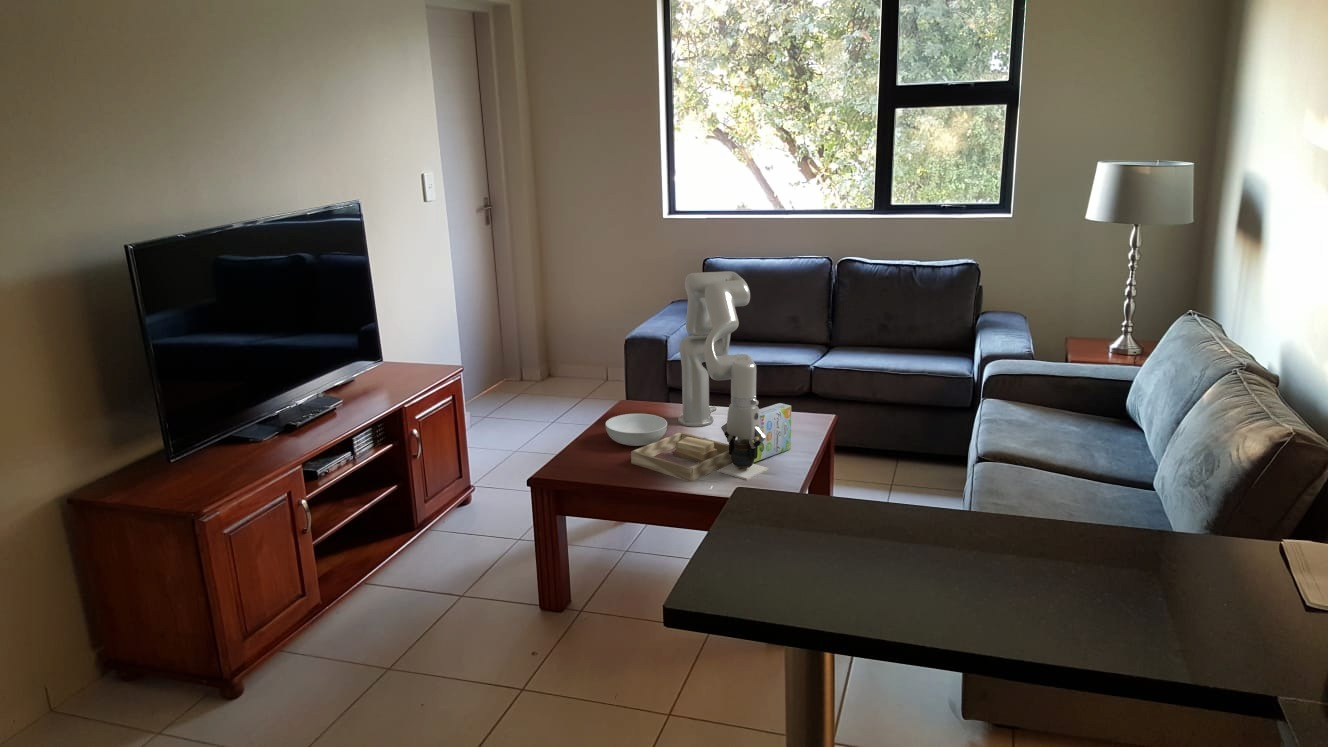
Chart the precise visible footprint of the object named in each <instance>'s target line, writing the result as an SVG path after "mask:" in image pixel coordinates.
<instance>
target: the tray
mask: <svg viewBox="0 0 1328 747" xmlns="http://www.w3.org/2000/svg"><path fill="white" fill-rule="evenodd" d="M686 437H692V438H697V439H702V440H707V441H711V442H714V448H715V449H717V456H714V457H712V458H710V459H707V460H705V461H703V462H701V463H697V464H694V465H692V466H687V465H684V464H680V463H677V462H674V461H671V460H670V461H669V460H667V459H663V458H661V457H657V455H660V454H662V453H663V454H664V452H668V451H670V450H673V449H676V446H677V445H678V442H679V441H681V440H682V439H684V438H686ZM630 456H631V457H630V458H631V459H630V460H631V461H630V462H631V463H630V464H632V465H634V466H635V465H636V466H638V467H642V468H645V469H648V470H651V471H654V472H657V473H661V474H664V475H668V476H671V477H674V478H676V479H680V480H684V481H687V482H690V483H691V482H693V481H695V480H698V479H699V478H701V477H702V478H703V477H704V476H706V475H708V474H710V473H714V471H718V470H719V469H721V468H723V467H725V466H727V465H730V464H732V463H733V461H732V460H731V455H730V454H729V443H724V442H721V441H716V440H712V439H709V438H705V437H701V436H698V435H695V434H691V433H686V432H683V431H680V432H677V433H674V434H672V435H670V436H667V437H664V438H661V439H660V440H658V441H656V442H654V443H651V444H648V445H643V446H641V447H639V448H636V449H634V450H632V451H630Z"/></svg>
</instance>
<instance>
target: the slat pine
mask: <svg viewBox="0 0 1328 747" xmlns="http://www.w3.org/2000/svg"><path fill="white" fill-rule="evenodd" d="M678 448H682V449H687V450H692V451H697V452H702V453H705V452H707V451H709V450H710V449H712V448H714V442H711V441H707V440H702V439H697V438H692V437H686V438H684V439H682V440H681V441H679V442H678Z"/></svg>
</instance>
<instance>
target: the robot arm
mask: <svg viewBox="0 0 1328 747" xmlns="http://www.w3.org/2000/svg"><path fill="white" fill-rule="evenodd" d="M684 290H685V291H686V296H687V306H686V307H687V309H686V318H685V330H686V333H687V334H688V335H689V336H686V337H684V338H682V339H681V340H680V342H679V344H678V351H679V356H680V357H679V358H680V362H681V364H680V365H681V384H682V388H681V390H682V392H681V393H682V399H681V400H682V415H680V416H679V417H678V421H677V422H678V423H679V424H680V425H682V426H685V427H706V426H708V425H711V424H713V423H714V417H713V416H712V415H711V413H714V412H716V411H717V407H716V406H715V405H713V406H710V380H709V379H710V378H711V379H712V380H714V381H728V380H730V404H729V406H728V410H727V418H726V423H724V424H723V425H722V426H721V427H720V428H721V430H722V432H723V434H724V435H723V436H725V439H726V442H728V445H729V454H730V455H731V454H732V451H733V448H734V439H733V438H735V440H737V439H736V438H737V437H740V438H744V439H748V440H749V443H750V446H751V448H750V449H749V460H751V461H752V460H754V459H756V458H757V455H758V446H759V445H760V444H761V443H762V442H763V441H764V440H765V439H766V436H765V435H764V434H763V433H762V431H761V420H760V412H759V409H760V408H759V406H758V405H759V403H760V402H759V400H757V364H756V363H755V362H754V360H753V359H752V358H751V356H750V355H749V354H745V353H740V354H739V353H737V354H729V350H730V343H731V334H732V333H734V332H735V331H737V329H738V327H739V324H740V322H739V318H738V315H737V310H736V308H737V307H745V306H747V305H748V304H749V303H750V300H751V291H750V287H749V286H748V283H747V282H746V281H745V279H744V278H743V277H741V276H740V275H739V274H738V273H737V272H736V271H728V270H727V271H726V270H725V271H708V272H707V271H705V272H692V273H689V274H687V275H686V277H685V281H684ZM703 363H705V364H706V368H705V367H704V366H703ZM757 437H759V439H757ZM753 440H754V442H753Z"/></svg>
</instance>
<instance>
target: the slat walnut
mask: <svg viewBox="0 0 1328 747" xmlns="http://www.w3.org/2000/svg"><path fill="white" fill-rule="evenodd" d="M671 453H672V456H674V457H676V458H677V457H678V458H680V459H683V460H687V461H691V462H694V463H697V464H698V463H701V462H703V461H705V460H700V459H697V458H694V457H691V456H688V455H685V454H682V453H679V452H676V449H674V450H672V451H671ZM716 456H717V455H716ZM711 458H712V457H711ZM709 459H710V458H709ZM706 460H707V459H706Z"/></svg>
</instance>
